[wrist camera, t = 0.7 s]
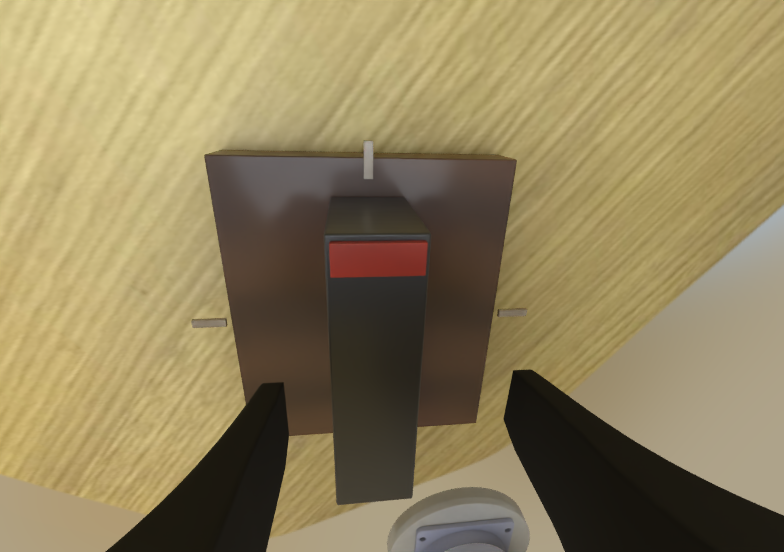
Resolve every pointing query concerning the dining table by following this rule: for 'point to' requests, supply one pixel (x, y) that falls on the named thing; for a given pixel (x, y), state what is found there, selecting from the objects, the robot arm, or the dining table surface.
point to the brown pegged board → (307, 267)
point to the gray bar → (375, 342)
